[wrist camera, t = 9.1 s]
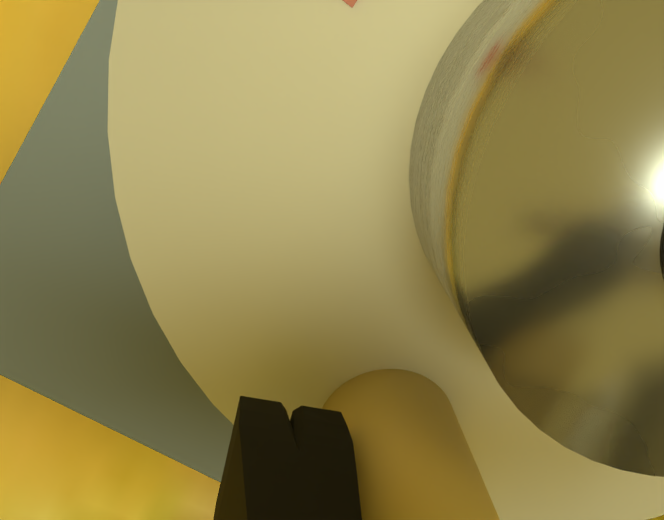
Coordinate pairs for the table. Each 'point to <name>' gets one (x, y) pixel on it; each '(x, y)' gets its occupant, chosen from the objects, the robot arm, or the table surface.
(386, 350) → the turntable
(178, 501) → the table surface
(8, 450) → the table surface
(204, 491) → the table surface
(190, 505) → the table surface
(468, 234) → the cover
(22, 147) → the base plate
